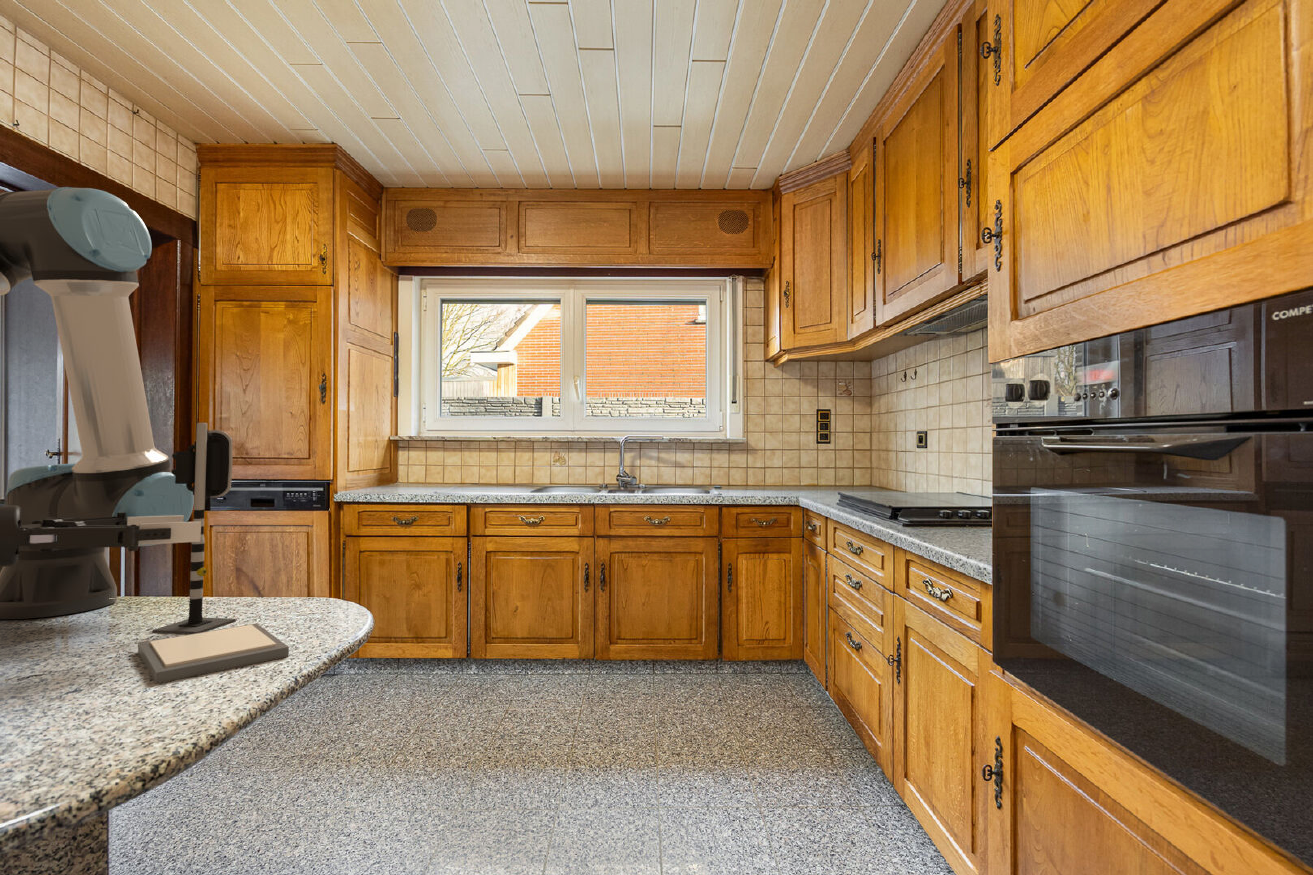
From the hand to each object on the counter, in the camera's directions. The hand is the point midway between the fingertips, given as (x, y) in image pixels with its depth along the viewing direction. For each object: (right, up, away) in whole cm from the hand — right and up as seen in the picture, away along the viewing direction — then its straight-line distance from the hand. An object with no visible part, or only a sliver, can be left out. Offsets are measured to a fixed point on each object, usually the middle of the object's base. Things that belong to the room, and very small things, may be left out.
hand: (191, 527), depth 89 cm
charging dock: (+12, -14, -12) cm, 22 cm away
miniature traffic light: (0, -15, +1) cm, 15 cm away
